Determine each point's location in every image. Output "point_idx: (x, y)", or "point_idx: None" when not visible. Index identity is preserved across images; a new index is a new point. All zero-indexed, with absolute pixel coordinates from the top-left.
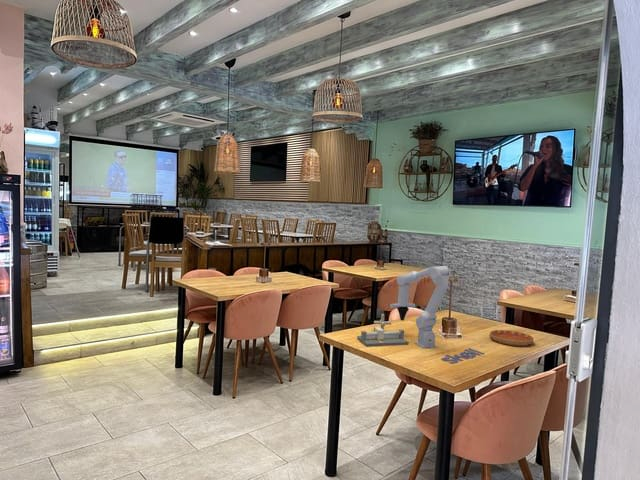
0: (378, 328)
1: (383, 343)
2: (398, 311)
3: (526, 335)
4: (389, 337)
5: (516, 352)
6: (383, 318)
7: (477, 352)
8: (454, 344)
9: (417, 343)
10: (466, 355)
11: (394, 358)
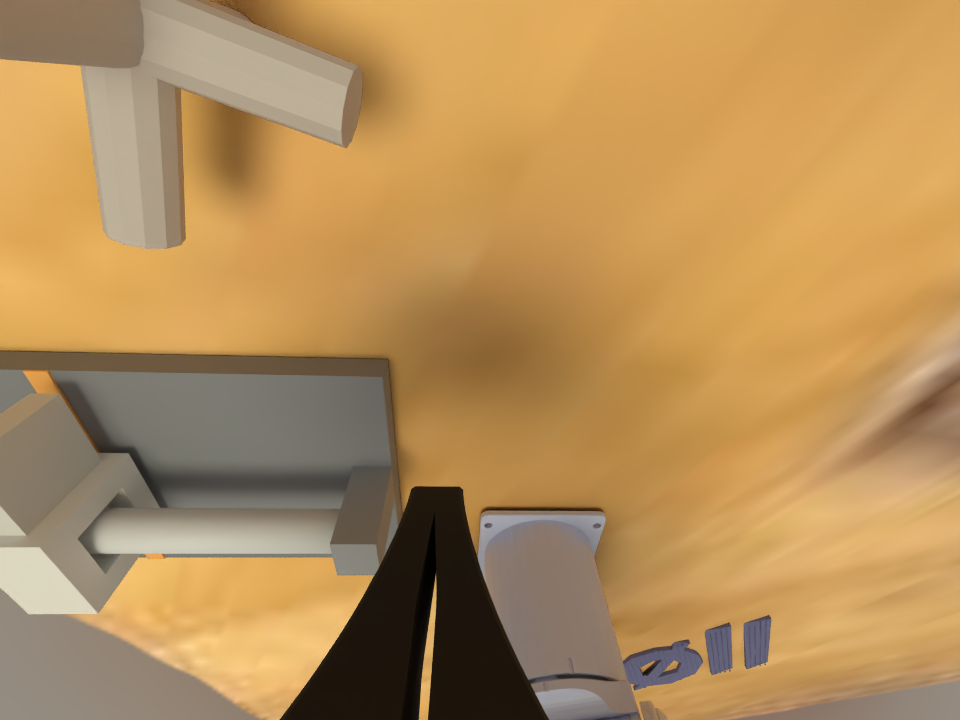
0: (15, 567)
1: (168, 554)
2: (316, 677)
3: None
4: (252, 454)
5: (944, 662)
6: (42, 58)
7: (745, 652)
8: (760, 562)
9: (479, 549)
10: (640, 673)
11: (225, 664)
